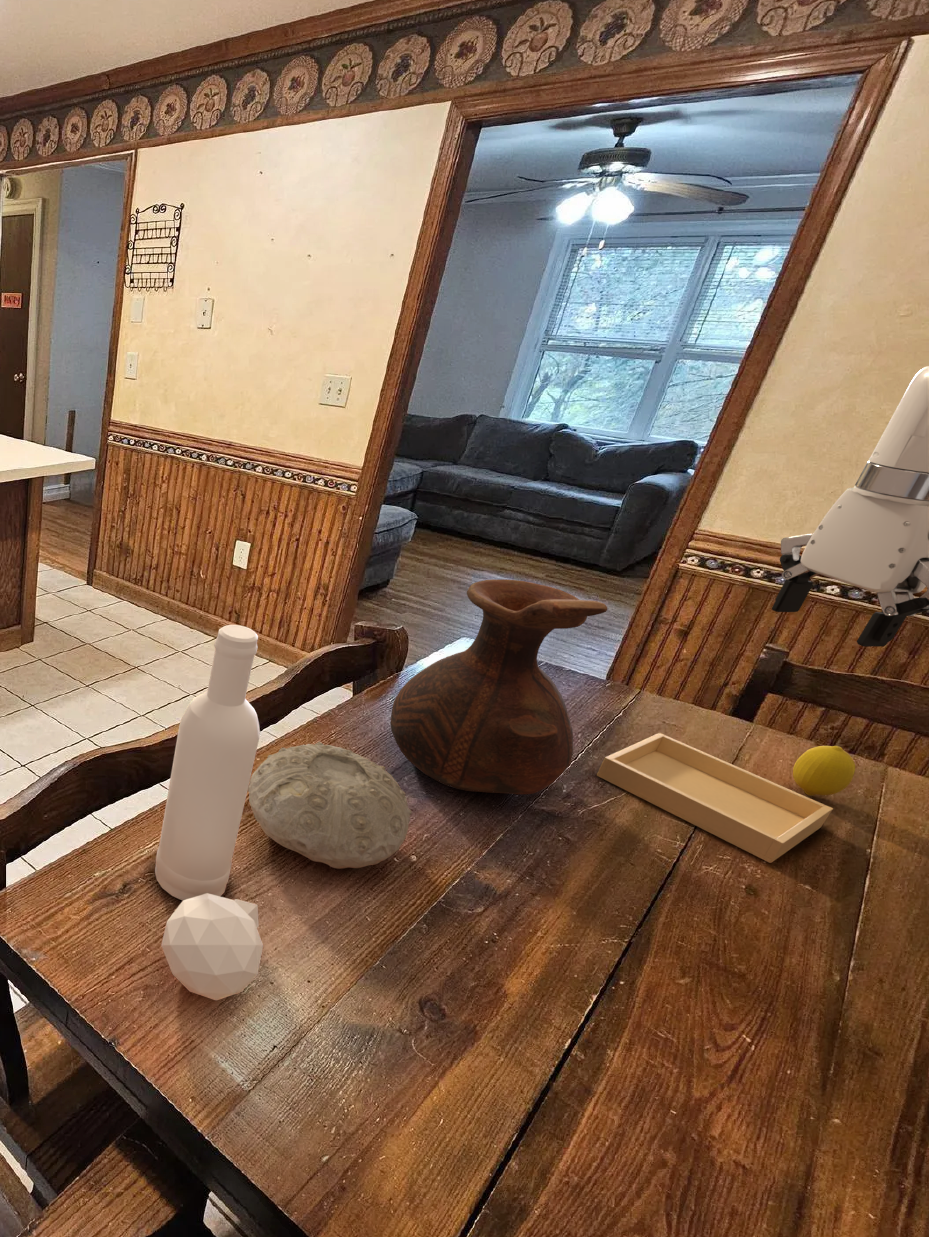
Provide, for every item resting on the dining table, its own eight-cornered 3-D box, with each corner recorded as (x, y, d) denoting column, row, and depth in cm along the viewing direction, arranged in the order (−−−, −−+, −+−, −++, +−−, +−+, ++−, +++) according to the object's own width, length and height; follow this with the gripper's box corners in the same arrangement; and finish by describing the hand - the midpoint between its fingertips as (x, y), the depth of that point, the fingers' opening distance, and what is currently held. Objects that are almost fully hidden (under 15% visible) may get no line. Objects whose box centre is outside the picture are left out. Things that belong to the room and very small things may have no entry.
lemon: (798, 802, 102) (829, 754, 98) (772, 779, 107) (800, 732, 103) (845, 810, 101) (878, 761, 97) (817, 787, 106) (848, 739, 102)
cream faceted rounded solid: (236, 1036, 63) (292, 965, 72) (230, 935, 61) (288, 876, 70) (147, 1000, 69) (209, 939, 77) (140, 908, 67) (204, 857, 76)
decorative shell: (347, 913, 79) (371, 839, 74) (212, 823, 91) (226, 755, 86) (424, 846, 89) (449, 777, 85) (294, 774, 101) (310, 710, 97)
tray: (820, 827, 97) (833, 808, 96) (770, 863, 90) (783, 843, 89) (650, 749, 112) (659, 732, 111) (596, 775, 105) (604, 757, 104)
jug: (350, 760, 105) (409, 559, 92) (416, 713, 118) (476, 531, 105) (519, 843, 91) (618, 618, 77) (572, 779, 104) (665, 577, 91)
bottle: (162, 845, 87) (203, 608, 74) (231, 865, 84) (285, 624, 71) (146, 891, 80) (188, 639, 67) (220, 914, 78) (279, 657, 64)
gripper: (1039, 507, 74) (938, 660, 82) (850, 468, 89) (779, 600, 97) (975, 505, 73) (879, 660, 81) (795, 466, 89) (728, 599, 96)
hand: (825, 627), depth 89 cm, fingers open, 9 cm apart
